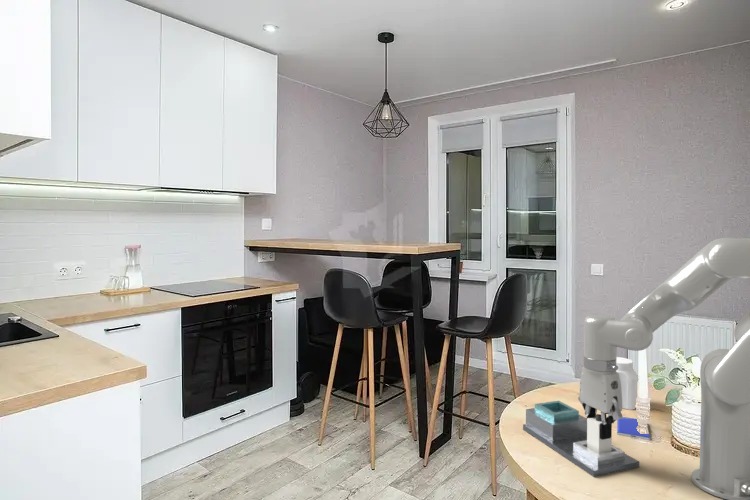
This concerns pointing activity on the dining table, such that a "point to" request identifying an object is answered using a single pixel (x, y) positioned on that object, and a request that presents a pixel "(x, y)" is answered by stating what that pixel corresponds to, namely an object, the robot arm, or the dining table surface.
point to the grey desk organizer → (573, 439)
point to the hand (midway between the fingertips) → (598, 434)
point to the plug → (597, 436)
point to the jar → (627, 382)
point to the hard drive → (630, 428)
